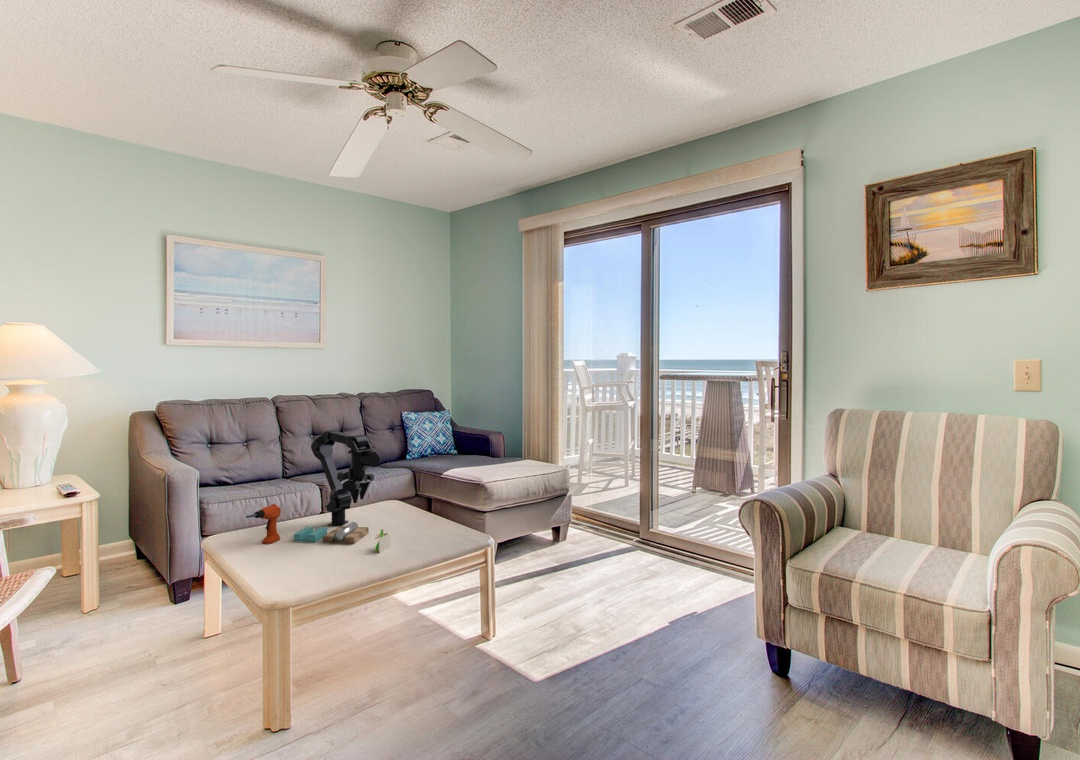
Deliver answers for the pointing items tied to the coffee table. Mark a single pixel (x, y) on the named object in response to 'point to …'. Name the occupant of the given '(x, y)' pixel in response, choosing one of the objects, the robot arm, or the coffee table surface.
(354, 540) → the wooden channel block
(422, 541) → the coffee table surface
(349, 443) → the robot arm
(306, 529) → the v block
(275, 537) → the toy drill
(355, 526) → the axle
